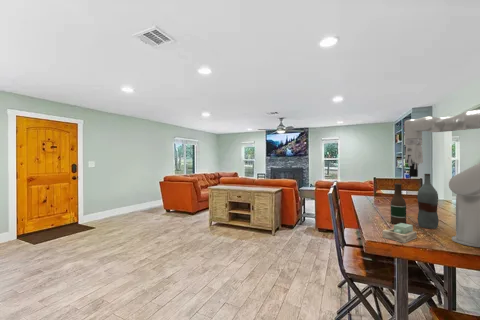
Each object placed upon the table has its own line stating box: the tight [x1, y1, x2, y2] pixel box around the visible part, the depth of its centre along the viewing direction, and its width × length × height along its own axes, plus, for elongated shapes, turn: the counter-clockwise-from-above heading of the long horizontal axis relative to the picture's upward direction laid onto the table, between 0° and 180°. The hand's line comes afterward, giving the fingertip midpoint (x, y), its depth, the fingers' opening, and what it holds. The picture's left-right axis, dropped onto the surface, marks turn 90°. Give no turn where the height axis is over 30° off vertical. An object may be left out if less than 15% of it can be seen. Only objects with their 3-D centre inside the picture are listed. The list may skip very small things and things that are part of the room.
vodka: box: [416, 173, 440, 230], centre depth 131 cm, size 9×9×30 cm
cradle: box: [382, 227, 418, 244], centre depth 113 cm, size 10×13×3 cm
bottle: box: [393, 223, 414, 234], centre depth 114 cm, size 5×5×12 cm
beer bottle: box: [390, 182, 407, 225], centre depth 137 cm, size 8×8×24 cm
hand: (413, 176), depth 124 cm, fingers closed
